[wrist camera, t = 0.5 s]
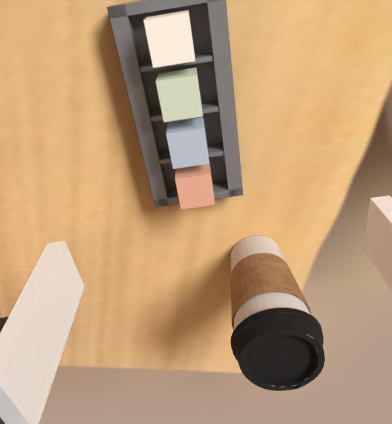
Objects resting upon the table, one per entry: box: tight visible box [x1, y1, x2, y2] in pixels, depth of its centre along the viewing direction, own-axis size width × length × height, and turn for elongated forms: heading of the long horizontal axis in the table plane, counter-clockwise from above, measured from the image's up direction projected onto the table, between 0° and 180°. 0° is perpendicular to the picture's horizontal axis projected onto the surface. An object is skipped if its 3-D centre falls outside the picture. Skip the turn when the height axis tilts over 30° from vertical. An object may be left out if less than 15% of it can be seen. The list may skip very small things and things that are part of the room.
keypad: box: [107, 0, 243, 207], centre depth 33 cm, size 18×9×2 cm, turn 9°
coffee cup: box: [231, 236, 325, 391], centre depth 38 cm, size 8×8×15 cm
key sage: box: [156, 68, 203, 122], centre depth 30 cm, size 3×3×3 cm
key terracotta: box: [175, 162, 215, 209], centre depth 34 cm, size 3×3×3 cm
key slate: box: [166, 117, 209, 169], centre depth 32 cm, size 3×3×3 cm
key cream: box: [144, 10, 195, 68], centre depth 27 cm, size 3×3×3 cm
